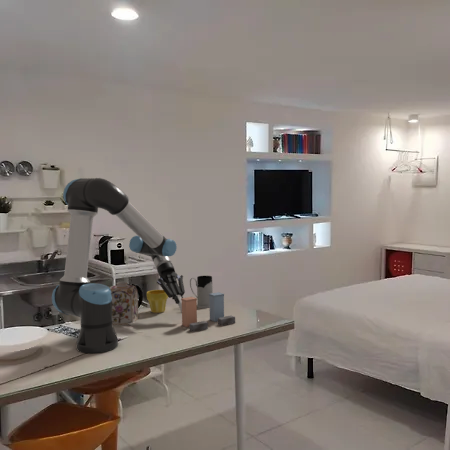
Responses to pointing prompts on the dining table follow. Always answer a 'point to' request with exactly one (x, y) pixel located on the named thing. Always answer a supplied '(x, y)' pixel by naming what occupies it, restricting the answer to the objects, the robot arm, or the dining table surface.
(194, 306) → the salmon pink lidded box
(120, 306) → the decorative jar
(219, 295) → the light blue tall block
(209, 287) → the grey metal pitcher
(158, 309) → the plant pot
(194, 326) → the dark grey block pair
